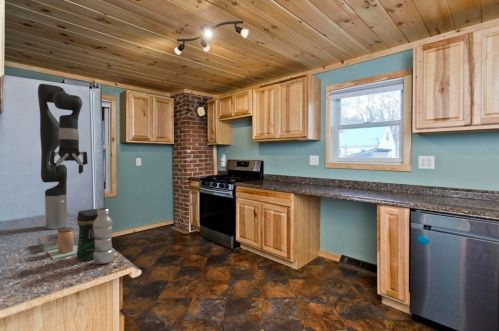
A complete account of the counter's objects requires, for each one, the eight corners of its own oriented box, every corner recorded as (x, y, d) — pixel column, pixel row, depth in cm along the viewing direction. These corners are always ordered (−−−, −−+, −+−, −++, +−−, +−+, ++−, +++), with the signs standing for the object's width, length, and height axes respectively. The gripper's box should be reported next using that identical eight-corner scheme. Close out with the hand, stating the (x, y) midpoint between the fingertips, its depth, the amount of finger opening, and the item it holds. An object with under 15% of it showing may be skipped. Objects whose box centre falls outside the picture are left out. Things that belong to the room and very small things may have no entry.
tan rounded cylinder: (56, 251, 106) (56, 229, 105) (71, 248, 110) (71, 226, 109) (59, 254, 102) (59, 231, 102) (75, 251, 106) (75, 229, 106)
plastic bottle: (105, 267, 93) (104, 211, 92) (88, 265, 94) (88, 210, 93) (117, 260, 99) (117, 207, 98) (102, 258, 101) (101, 206, 100)
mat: (47, 252, 105) (47, 251, 105) (76, 246, 113) (76, 245, 113) (53, 259, 99) (53, 258, 99) (83, 252, 106) (83, 251, 106)
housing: (37, 244, 113) (37, 236, 113) (70, 238, 122) (70, 231, 122) (43, 252, 105) (43, 243, 105) (78, 244, 114) (78, 237, 114)
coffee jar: (81, 263, 96) (80, 213, 95) (74, 257, 101) (74, 209, 100) (109, 256, 103) (109, 209, 102) (101, 250, 108) (101, 206, 108)
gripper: (84, 139, 128) (84, 172, 129) (47, 138, 117) (48, 174, 118) (89, 139, 123) (89, 173, 124) (51, 137, 112) (52, 175, 113)
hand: (69, 174), depth 121 cm, fingers open, 8 cm apart
